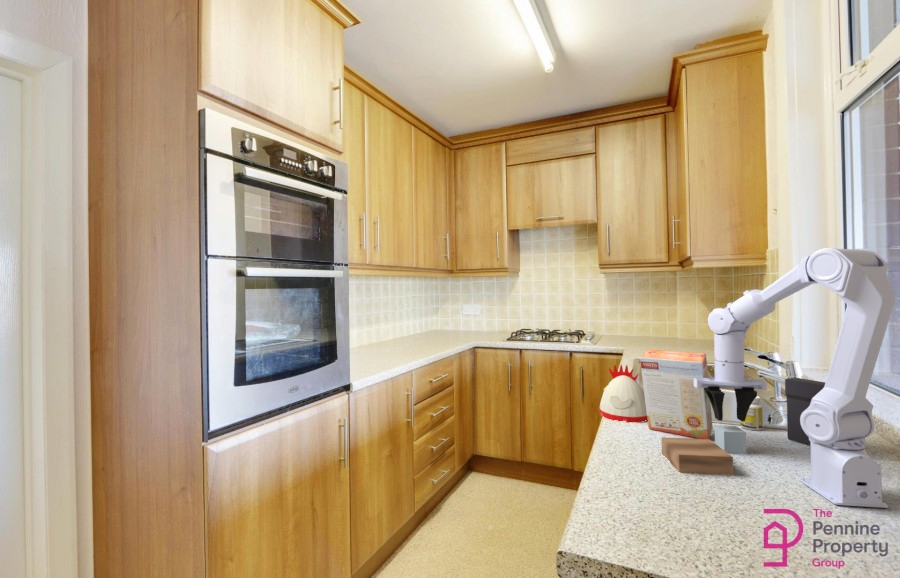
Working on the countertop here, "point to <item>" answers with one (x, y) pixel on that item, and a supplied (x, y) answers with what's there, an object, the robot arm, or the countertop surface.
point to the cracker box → (676, 393)
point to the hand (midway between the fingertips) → (729, 419)
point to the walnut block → (697, 456)
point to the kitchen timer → (623, 398)
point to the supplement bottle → (754, 416)
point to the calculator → (799, 405)
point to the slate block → (730, 439)
